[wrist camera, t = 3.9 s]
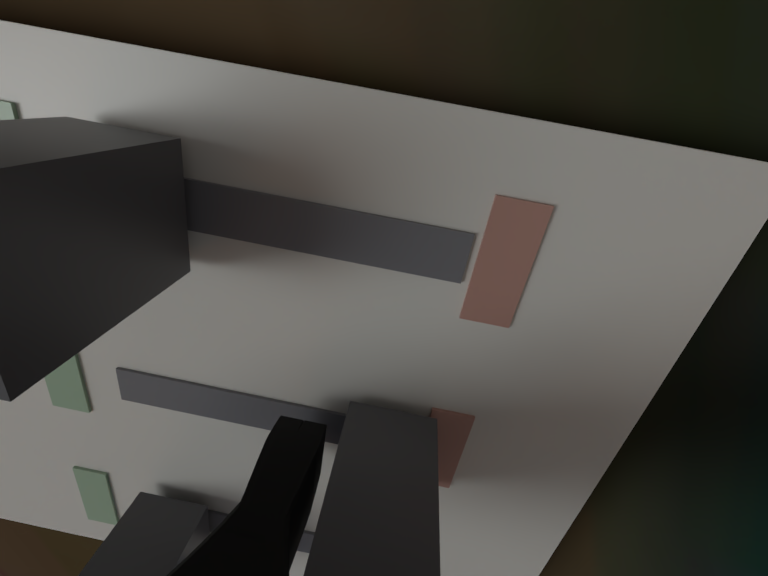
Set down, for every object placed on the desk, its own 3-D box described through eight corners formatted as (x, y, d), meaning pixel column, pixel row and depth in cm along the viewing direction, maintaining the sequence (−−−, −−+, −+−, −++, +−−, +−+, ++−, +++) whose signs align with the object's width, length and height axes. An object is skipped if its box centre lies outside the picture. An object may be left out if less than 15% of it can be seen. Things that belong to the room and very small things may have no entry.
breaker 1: (190, 271, 9) (10, 401, 5) (93, 252, 9) (-157, 367, 5) (180, 138, 8) (-74, 180, 4) (66, 116, 8) (-297, 136, 4)
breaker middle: (415, 489, 12) (407, 687, 8) (337, 473, 12) (291, 661, 8) (437, 418, 10) (441, 615, 6) (349, 400, 10) (300, 584, 6)
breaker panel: (497, 572, 17) (505, 630, 15) (23, 471, 18) (-25, 515, 16) (726, 154, 9) (804, 168, 7) (-170, -13, 9) (-317, -39, 8)
